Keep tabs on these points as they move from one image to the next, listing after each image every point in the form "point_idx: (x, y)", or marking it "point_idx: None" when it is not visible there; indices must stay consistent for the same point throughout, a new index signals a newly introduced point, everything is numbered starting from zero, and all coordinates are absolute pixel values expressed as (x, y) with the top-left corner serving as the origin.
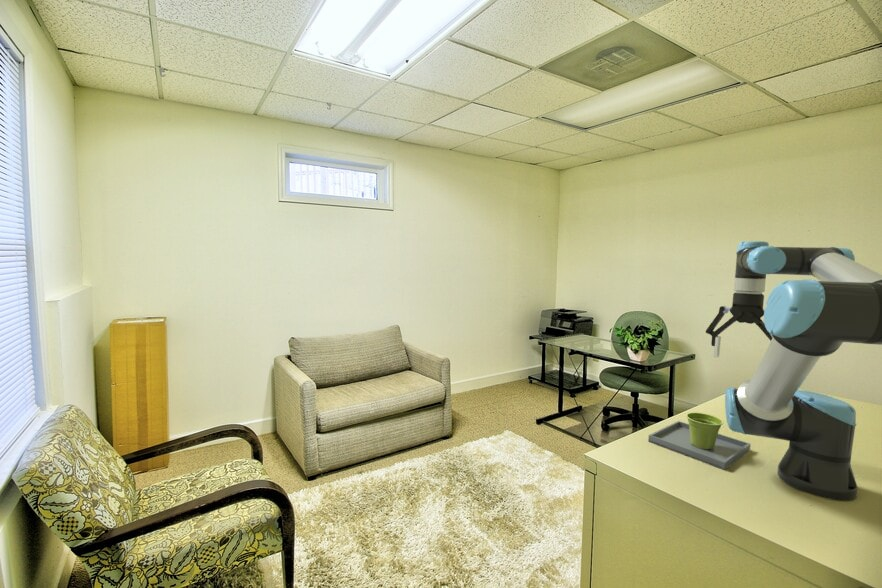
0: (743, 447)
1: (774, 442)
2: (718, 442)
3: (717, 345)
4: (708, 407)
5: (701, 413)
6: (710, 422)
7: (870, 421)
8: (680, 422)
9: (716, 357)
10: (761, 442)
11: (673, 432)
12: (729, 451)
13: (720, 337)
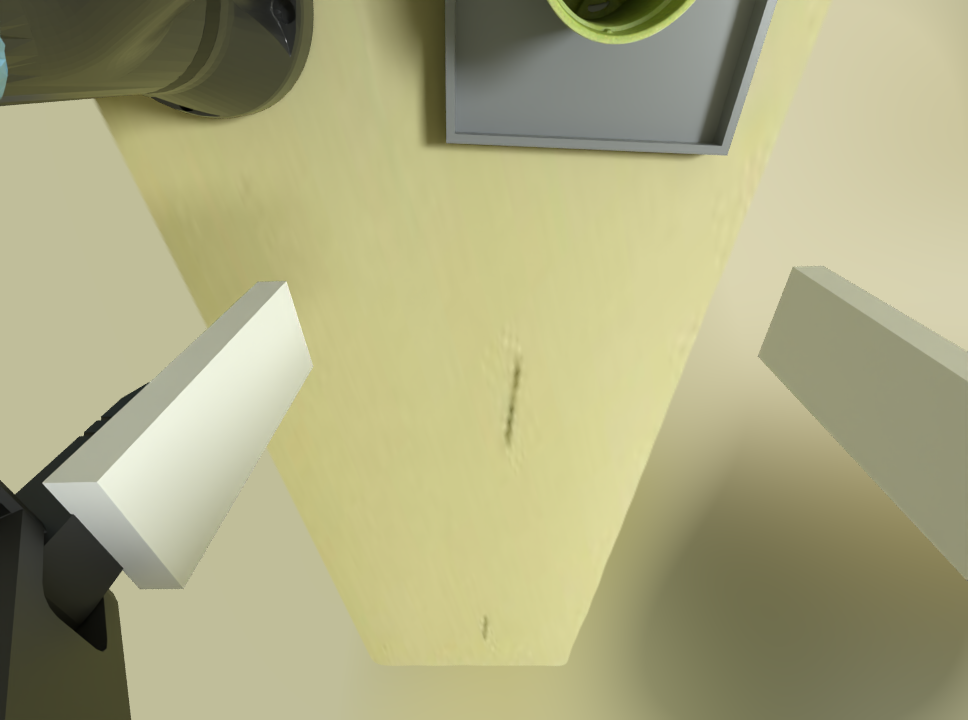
0: (450, 60)
1: (422, 300)
2: (548, 88)
3: (923, 353)
4: (640, 440)
5: (659, 23)
6: (598, 25)
7: (345, 593)
8: (716, 145)
9: (793, 268)
10: (447, 264)
11: (729, 20)
12: (491, 10)
13: (965, 552)
